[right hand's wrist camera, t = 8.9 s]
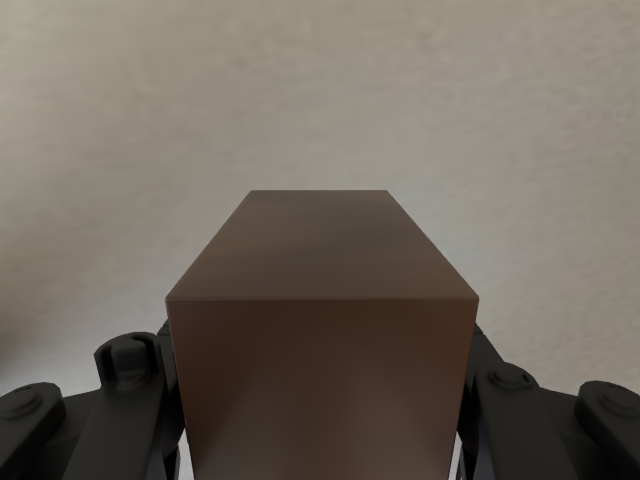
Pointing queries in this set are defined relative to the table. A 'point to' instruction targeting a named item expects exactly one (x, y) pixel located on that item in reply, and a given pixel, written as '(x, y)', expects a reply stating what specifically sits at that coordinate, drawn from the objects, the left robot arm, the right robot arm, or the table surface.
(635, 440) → the right robot arm
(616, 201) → the table surface
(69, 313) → the table surface
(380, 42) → the table surface
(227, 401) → the beam
